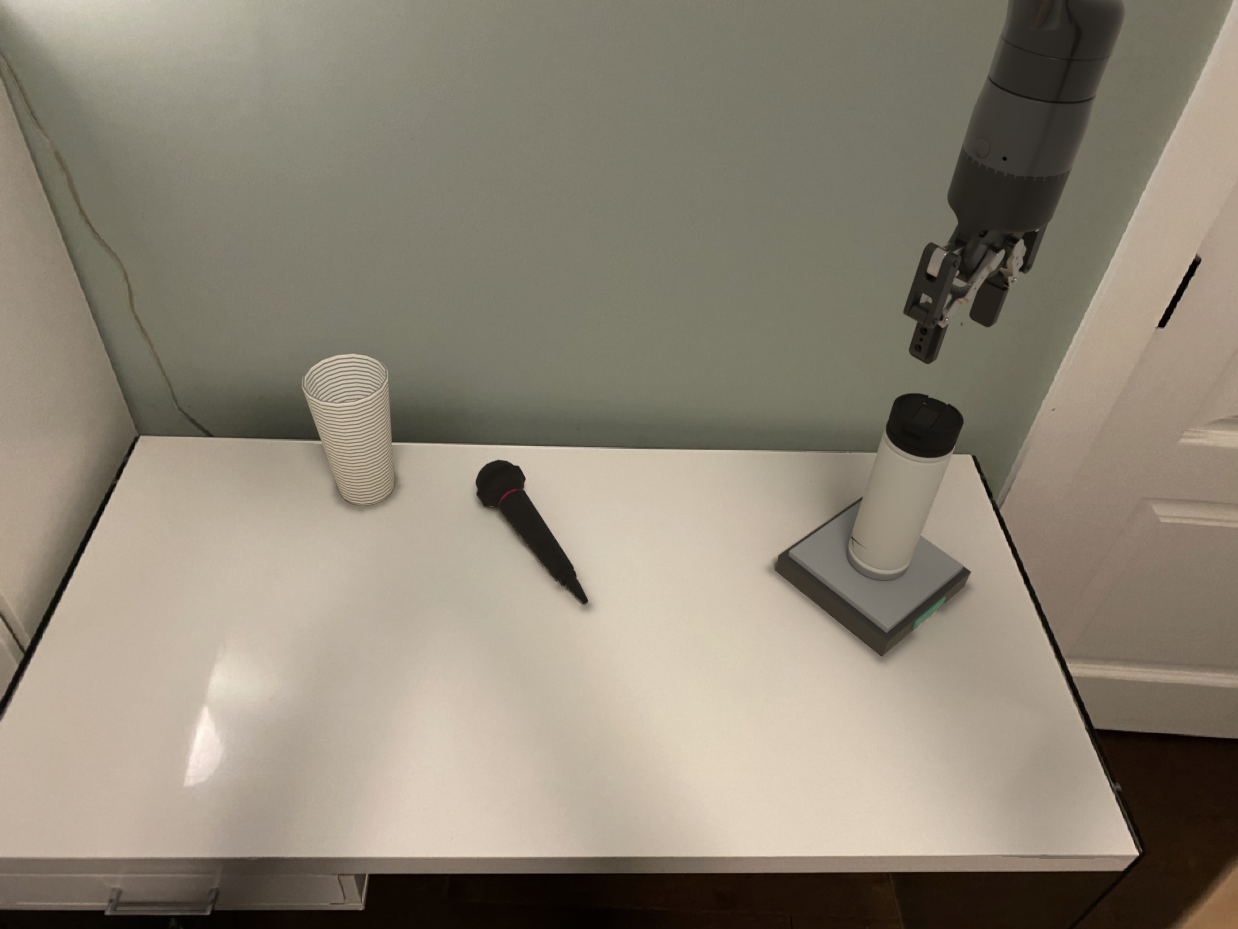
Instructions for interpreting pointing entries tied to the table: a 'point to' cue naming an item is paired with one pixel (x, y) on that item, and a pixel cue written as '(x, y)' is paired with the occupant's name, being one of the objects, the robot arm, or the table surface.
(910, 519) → the travel mug
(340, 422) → the cup
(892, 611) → the scale
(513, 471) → the microphone
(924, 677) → the table surface
